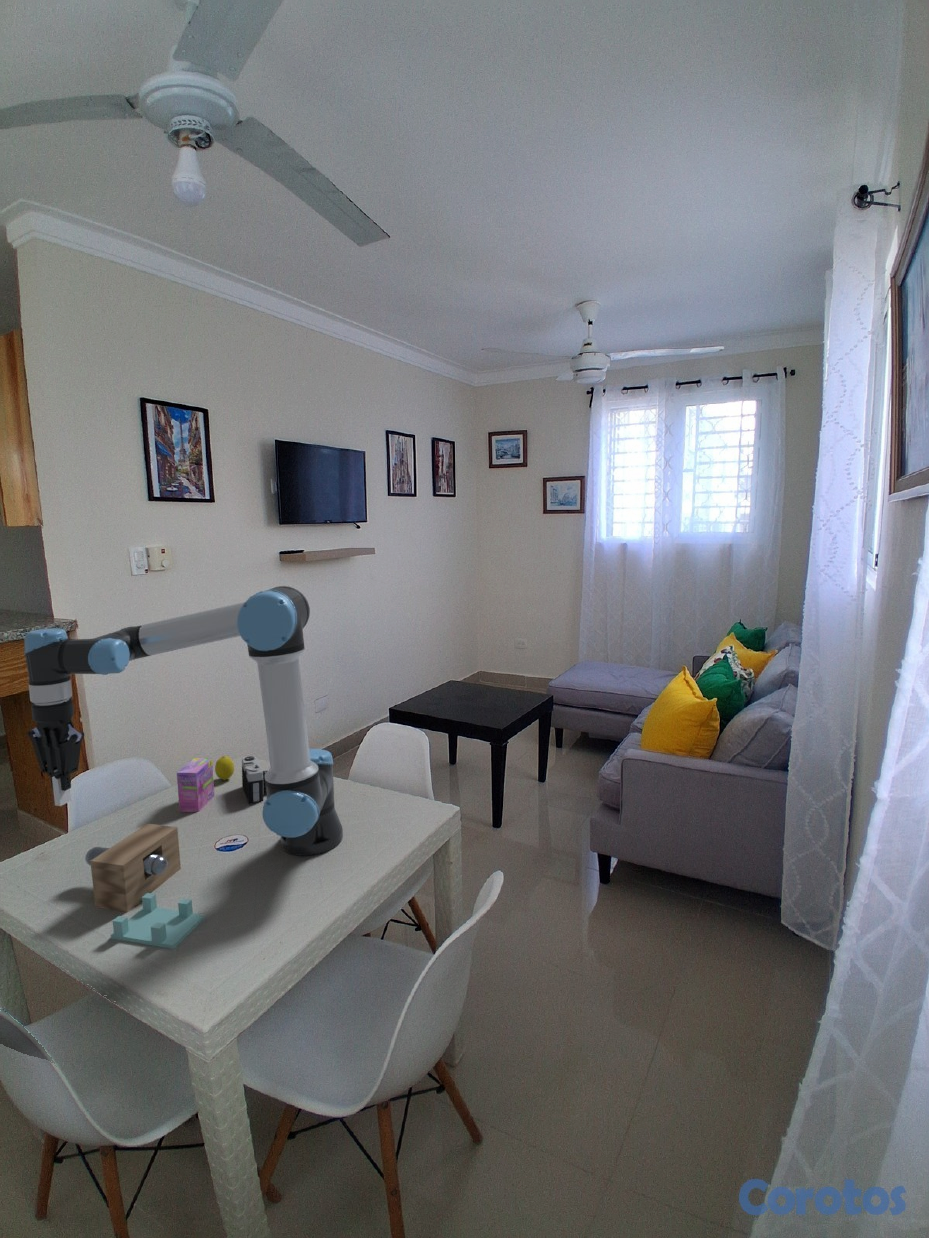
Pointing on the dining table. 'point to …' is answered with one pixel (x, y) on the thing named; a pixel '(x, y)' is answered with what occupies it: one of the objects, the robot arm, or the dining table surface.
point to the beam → (133, 867)
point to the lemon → (224, 768)
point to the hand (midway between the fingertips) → (63, 802)
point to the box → (195, 785)
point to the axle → (150, 862)
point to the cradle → (157, 924)
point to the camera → (253, 780)
